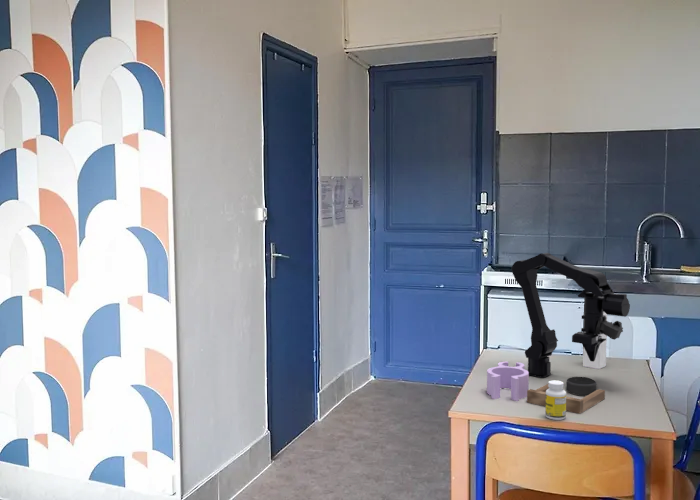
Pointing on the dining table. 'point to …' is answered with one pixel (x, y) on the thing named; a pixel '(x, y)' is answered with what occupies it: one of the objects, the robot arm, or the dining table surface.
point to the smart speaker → (581, 386)
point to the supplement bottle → (555, 400)
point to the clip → (508, 380)
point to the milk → (601, 354)
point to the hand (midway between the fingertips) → (592, 361)
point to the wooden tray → (567, 399)
